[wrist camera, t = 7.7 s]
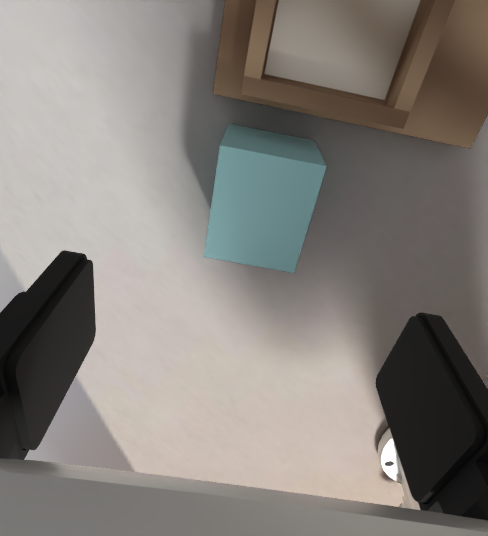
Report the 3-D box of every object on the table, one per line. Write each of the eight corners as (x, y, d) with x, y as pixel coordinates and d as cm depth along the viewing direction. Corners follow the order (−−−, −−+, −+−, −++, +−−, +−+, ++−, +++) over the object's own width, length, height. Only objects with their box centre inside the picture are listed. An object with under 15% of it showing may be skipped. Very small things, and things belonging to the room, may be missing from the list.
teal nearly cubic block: (289, 232, 25) (294, 273, 20) (214, 218, 24) (203, 256, 20) (314, 140, 21) (326, 166, 17) (228, 123, 21) (219, 145, 17)
